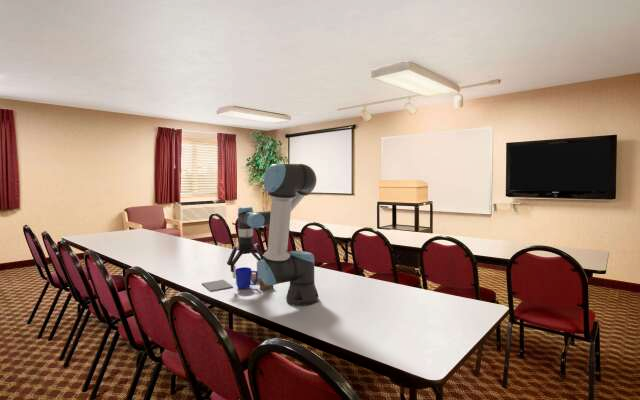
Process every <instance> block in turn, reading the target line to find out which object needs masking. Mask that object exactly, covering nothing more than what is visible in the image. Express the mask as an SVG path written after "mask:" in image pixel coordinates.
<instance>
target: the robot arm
mask: <svg viewBox="0 0 640 400" xmlns="http://www.w3.org/2000/svg"><path fill="white" fill-rule="evenodd" d="M263 184H264V189H265V191H266V192H267V193H268V196H269V197H270V199H271V201H270V204H271V205H270V210H269V211H267V210H265V211H256V212H255V211H254V209H253V207H252V206H240V207H238V209H237V225H238V246H234V245H233V246H232V251H231V253H230V255H229V257H228V259H227V262H226V265H228V266H230V272H231V274H232V278H233V279H235V280H236V269H237V268H236V263H237V262H238V261H239V259H240V258H241V257H242V256H243V255H246V254H251V255H252V256H253V257H254V258H255V259H256V260H257V261H256V271H258V274H259V276H260V278H261V280H262V282H263V283H264V284H265V285H273V286H275V285H278V284H279V285H280V284H283V283H288V282H289V286H288V290H287V293H286V296H285V299H286V303H287V304H289V305H291V306H292V305H293V306H297V307H298V306H299V307H303V306H304V307H305V306H306V307H307V306H311V305H314V304H317V303H318V302H319V294H318V290H317V288H316V284H315V256H314V254H313V253H312V252H308V251H303V250H291V251H289V252H288V245H289V234H290V226H291V225H290V224H291V223H290V222H291V212H292V211H293V210H294V209H295V208H296V207H297V206H298V204H300V202H301V201H302V200H303V199H304V198H305V197H306V196H309V195H310V194H311V193H312V192H313V191H314V189H315V188H316V186H317V175H316V173H315V170H313V168H312V167H310V166H309V165H307V164H303V163H273V164H271V165H269V166H268V168H267V169H266V170H265V173H264V176H263ZM261 227H269V228H268V240H267V250H266V251H265V252H264V253H263V252H262V250H261V248H260V244H259V243H254V236H253V235H254V229H260V228H261ZM254 248H255V250H256V252H257V253H256V252H255V251H254V250H253V249H254ZM237 251H238V252H237ZM236 253H237V254H236ZM235 255H236V256H235Z"/></svg>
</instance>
